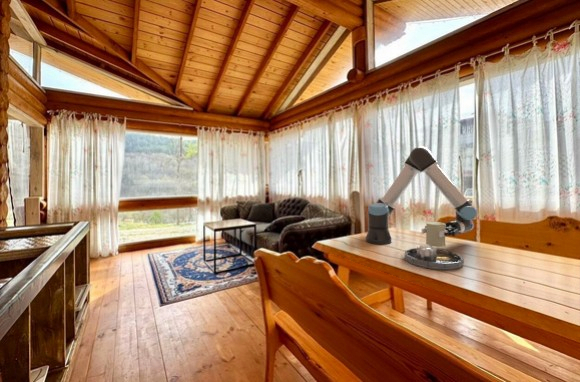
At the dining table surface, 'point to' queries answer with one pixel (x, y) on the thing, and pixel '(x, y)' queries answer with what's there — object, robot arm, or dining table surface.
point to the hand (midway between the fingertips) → (430, 232)
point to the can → (435, 234)
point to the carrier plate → (435, 265)
